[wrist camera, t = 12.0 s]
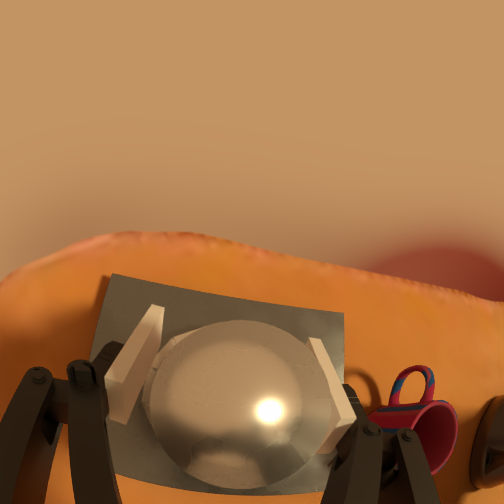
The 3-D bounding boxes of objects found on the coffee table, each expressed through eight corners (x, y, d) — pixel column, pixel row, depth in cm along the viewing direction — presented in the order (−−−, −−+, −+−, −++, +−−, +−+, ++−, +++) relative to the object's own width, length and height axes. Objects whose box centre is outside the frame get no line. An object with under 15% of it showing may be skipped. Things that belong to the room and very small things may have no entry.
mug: (347, 472, 16) (395, 486, 11) (364, 371, 22) (413, 357, 16) (402, 465, 17) (451, 470, 11) (414, 375, 22) (462, 361, 16)
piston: (273, 397, 18) (364, 394, 8) (218, 450, 15) (248, 519, 5) (217, 344, 19) (242, 282, 9) (160, 394, 17) (108, 396, 6)
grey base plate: (336, 318, 24) (350, 308, 22) (325, 485, 16) (340, 493, 13) (116, 280, 22) (108, 266, 19) (83, 455, 13) (70, 461, 11)
